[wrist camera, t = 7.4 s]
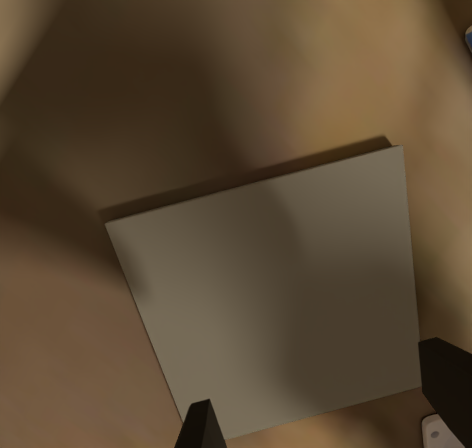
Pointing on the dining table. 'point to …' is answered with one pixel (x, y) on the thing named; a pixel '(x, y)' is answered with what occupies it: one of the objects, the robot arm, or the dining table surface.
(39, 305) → the dining table surface
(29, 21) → the dining table surface
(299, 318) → the gray square board
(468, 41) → the medicine box
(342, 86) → the dining table surface
